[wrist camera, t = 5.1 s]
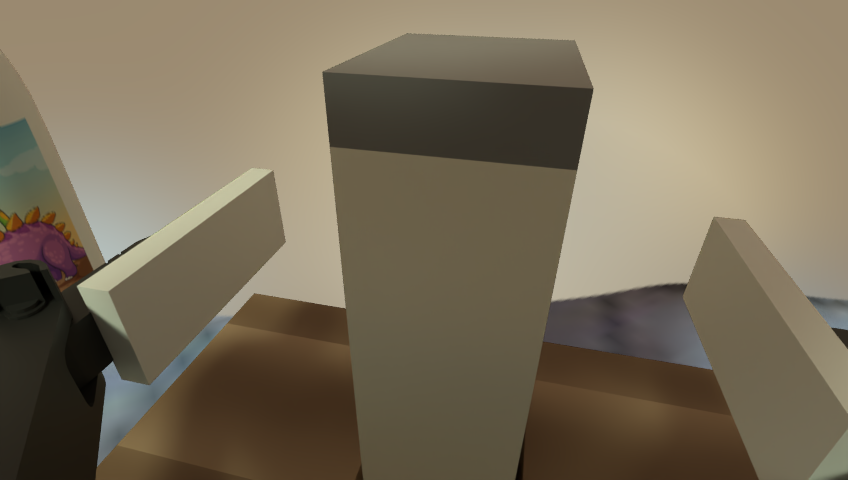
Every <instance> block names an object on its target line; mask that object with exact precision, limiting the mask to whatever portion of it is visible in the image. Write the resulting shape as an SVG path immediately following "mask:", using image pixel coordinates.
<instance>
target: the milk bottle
mask: <svg viewBox="0 0 848 480" xmlns="http://www.w3.org/2000/svg"><path fill="white" fill-rule="evenodd" d="M28 259H31V260H41V261H43V262H44V263H46V264H47V266H48V267H49V269H50V271H51V273H52V275H53V277H54V279H55V281H56V283H57V285H58V287H59V289H60V291H61V292H62V291H63V290H65V289H66V288H68V287H69V286H71V285H72V284H74V283H75V282H77V281H78V280H80V279H82V278H83V277H85V276H86V275H88V274H89V273H91V272H92V271H94V270H95V269H97V268H98V267H100V266H101V265H103V264H104V263H105V261H104V259H103V256H102V254H101V251H100V249H99V247H98V244H97V242H96V240H95V237H94V235H93V233H92V230H91V228H90V226H89V223H88V221H87V219H86V216H85V214H84V212H83V209H82V207H81V205H80V202H79V200H78V198H77V195H76V193H75V190H74V189H73V186H72V184H71V181H70V179H69V177H68V175H67V172H66V170H65V168H64V165H63V163H62V161H61V159H60V156H59V154H58V152H57V150H56V147H55V145H54V143H53V140H52V138H51V136H50V134H49V131H48V129H47V127H46V125H45V123H44V121H43V119H42V117H41V115H40V112H39V111H38V108H37V106H36V104H35V102H34V100H33V98H32V96H31V94H30V92H29V90H28V89H27V87H26V86H25V84H24V82H23V80H22V78H21V77H20V75H19V74H18V72H17V71H16V69H15V68H14V66H13V65H12V64H11V62H10V61H9V59H8V58H7V57H6V56H5V54H4V53H3V52H2V51H1V50H0V265H2V264H6V263H10V262H14V261H20V260H28Z"/></svg>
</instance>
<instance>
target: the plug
mask: <svg viewBox="0 0 848 480" xmlns="http://www.w3.org/2000/svg"><path fill="white" fill-rule="evenodd" d="M323 82H324V93H325V103H326V113H327V123H328V133H329V142H330V153H331V162H332V173H333V183H334V193H335V202H336V213H337V223H338V233H339V243H340V253H341V263H342V273H343V283H344V293H345V303H346V313H347V324H348V334H349V344H350V354H351V364H352V374H353V384H354V394H355V404H356V414H357V424H358V434H359V444H360V454H361V464H362V474H363V480H515V478H516V473H517V468H518V463H519V458H520V453H521V448H522V443H523V438H524V433H525V428H526V423H527V418H528V413H529V408H530V403H531V398H532V393H533V388H534V383H535V378H536V373H537V368H538V363H539V358H540V353H541V348H542V343H543V338H544V333H545V328H546V323H547V318H548V313H549V308H550V303H551V298H552V293H553V288H554V283H555V278H556V273H557V268H558V263H559V258H560V253H561V248H562V243H563V238H564V233H565V228H566V223H567V218H568V213H569V209H570V204H571V198H572V193H573V188H574V184H575V179H576V174H577V169H578V163H579V158H580V154H581V149H582V143H583V139H584V134H585V129H586V124H587V119H588V114H589V109H590V103H591V99H592V94H593V86H592V83H591V81H590V78H589V76H588V73H587V70H586V68H585V65H584V63H583V60H582V58H581V55H580V52H579V50H578V47H577V45H576V42H575V41H571V40H570V41H569V40H549V39H548V40H547V39H525V38H500V37H478V36H477V37H476V36H455V35H431V34H408V33H407V34H405V35H402V36H400V37H398V38H396V39H394V40H392V41H389V42H387V43H385V44H383V45H381V46H378V47H376V48H374V49H372V50H369V51H367V52H365V53H363V54H361V55H359V56H356V57H354V58H352V59H350V60H348V61H345V62H343V63H341V64H339V65H337V66H335V67H332V68H330V69H328V70H326V71H323Z"/></svg>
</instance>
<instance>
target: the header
mask: <svg viewBox="0 0 848 480" xmlns="http://www.w3.org/2000/svg"><path fill="white" fill-rule="evenodd" d="M95 480H363V474H362V464H361V454H360V444H359V434H358V424H357V414H356V404H355V394H354V384H353V374H352V364H351V354H350V344H349V334H348V324H347V313H346V309H345V308H339V307H333V306H327V305H321V304H315V303H309V302H303V301H297V300H290V299H284V298H279V297H273V296H266V295H261V294H254V295H253V296H252V297H251V298H250V299H249V300H248V301H247V302H246V303H245V304H244V306H243V307H242V308H241V309H240V310H239V311H238V312H237V313H236V314H235V315H234V316H233V318H232V319H231V320H230V321H229V322H228V323H227V324H226V325H225V326H224V328H223V329H222V330H221V331H220V332H219V333H218V334H217V335H216V336H215V337H214V339H213V340H212V341H211V342H210V343H209V344H208V345H207V346H206V347H205V349H204V350H203V351H202V352H201V353H200V354H199V355H198V356H197V357H196V358H195V360H194V361H193V362H192V363H191V364H190V365H189V366H188V367H187V368H186V370H185V371H184V372H183V373H182V374H181V375H180V376H179V377H178V378H177V379H176V381H175V382H174V383H173V384H172V385H171V386H170V387H169V388H168V389H167V391H166V392H165V393H164V394H163V395H162V396H161V397H160V398H159V399H158V400H157V402H156V403H155V404H154V405H153V406H152V407H151V408H150V409H149V410H148V412H147V413H146V414H145V415H144V416H143V417H142V418H141V419H140V420H139V421H138V423H137V424H136V425H135V426H134V427H133V428H132V429H131V430H130V431H129V433H128V434H127V435H126V436H125V437H124V438H123V439H122V440H121V441H120V442H119V444H118V445H117V446H116V447H115V448H114V449H113V450H112V451H111V452H110V454H109V455H108V456H107V457H106V458H105V459H104V460H103V461H102V462H101V463H100V465H99V466H98V467H97V469H96V478H95ZM515 480H759V479H758V476H757V474H756V471H755V469H754V467H753V464H752V462H751V459H750V457H749V455H748V452H747V450H746V448H745V445H744V443H743V440H742V438H741V436H740V433H739V431H738V428H737V426H736V424H735V421H734V419H733V416H732V414H731V412H730V409H729V407H728V404H727V402H726V400H725V397H724V395H723V393H722V390H721V388H720V385H719V383H718V381H717V378H716V376H715V373H714V371H713V370H710V369H704V368H698V367H692V366H686V365H680V364H674V363H668V362H662V361H656V360H650V359H644V358H638V357H632V356H626V355H620V354H614V353H608V352H602V351H596V350H590V349H584V348H578V347H572V346H566V345H560V344H554V343H548V342H543V343H542V348H541V353H540V358H539V363H538V368H537V373H536V378H535V383H534V388H533V393H532V398H531V403H530V408H529V413H528V418H527V423H526V428H525V433H524V438H523V443H522V448H521V453H520V458H519V463H518V468H517V473H516V478H515Z"/></svg>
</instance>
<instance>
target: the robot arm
mask: <svg viewBox="0 0 848 480" xmlns="http://www.w3.org/2000/svg"><path fill="white" fill-rule="evenodd" d="M285 242H286V241H285V236H284V230H283V224H282V219H281V213H280V207H279V201H278V195H277V189H276V184H275V178H274V172H273V170H268V169H258V168H251V169H249V170H248V171H246V172H245V173H244V174H242V175H241V176H239V177H238V178H236V179H235V180H233V181H232V182H231V183H229V184H227V185H226V186H224V187H223V188H221V189H220V190H218V191H217V192H216V193H214V194H212V195H211V196H210V197H208V198H207V199H205V200H204V201H202V202H201V203H199V204H198V205H196V206H195V207H193V208H192V209H190V210H189V211H187V212H186V213H184V214H183V215H181V216H180V217H178V218H177V219H175V220H174V221H172V222H171V223H170V224H168V225H167V226H165V227H164V228H162V229H161V230H159V231H158V232H156V233H155V234H153V235H152V236H149V237H147V238H144V239H142V240H140V241H138V242H136V243H134V244H133V245H131V246H130V247H128V248H127V249H125V250H124V251H122V252H121V254H120V255H119V254H118V255H116V256H115V257H113V258H112V259H110V260H109V261H108V263H104V264H103V265H101V266H100V267H98V268H97V269H95V270H94V271H92V272H91V273H89V274H88V275H86V276H85V277H83V278H82V279H80V280H78V281H77V282H75V283H74V284H72V285H71V286H69V287H68V288H66V289H65V290H63V291H62V292H61V291H60V289H59V287H58V285H57V283H56V281H55V279H54V277H53V275H52V273H51V271H50V269H49V267H48V266H47V264H46V263H44V262H43V261H41V260H31V259H28V260H20V261H14V262H10V263H6V264H2V265H0V480H95V478H96V469H97V460H98V451H99V442H100V432H101V423H102V414H103V405H104V396H105V387H106V382H105V378H104V376H103V374H102V372H101V371H102V370H104V369H105V368H106V367H107V366H108V365H109V364H110V363H111V362H112V361H113V362H114V364H115V366H116V369H117V371H118V373H119V375H120V377H121V379H123V380H128V381H132V382H137V383H141V384H146V385H150V384H151V383H152V382H153V381H154V380H155V379H156V378H157V377H158V376H159V375H160V374H161V372H162V371H163V370H164V369H165V368H166V367H167V366H168V365H169V364H170V363H171V362H172V361H173V360H174V359H175V358H176V357H177V356H178V355H179V354H180V353H181V352H182V350H183V349H184V348H185V347H186V346H187V345H188V344H189V343H190V342H191V341H192V340H193V339H194V338H195V337H196V336H197V335H198V334H199V333H200V332H201V331H202V329H203V328H204V327H205V326H206V325H207V324H208V323H209V322H210V321H211V320H212V319H213V318H214V317H215V316H216V315H217V314H218V313H219V312H220V311H221V310H222V308H223V307H224V306H225V305H226V304H227V303H228V302H229V301H230V300H231V299H232V298H233V297H234V296H235V295H236V294H237V293H238V292H239V290H241V289H242V287H243V286H244V285H245V284H246V283H247V282H248V281H249V280H250V279H251V278H252V277H253V276H254V275H255V274H256V273H257V272H258V271H259V270H260V269H261V268H262V266H263V265H264V264H265V263H266V262H267V261H268V260H269V259H270V258H271V257H272V256H273V255H274V254H275V253H276V252H277V251H278V250H279V249H280V247H281V246H283V244H284V243H285ZM683 299H684V302H685V304H686V306H687V309H688V311H689V314H690V316H691V318H692V321H693V323H694V326H695V328H696V330H697V333H698V335H699V338H700V340H701V342H702V345H703V347H704V349H705V352H706V354H707V357H708V359H709V361H710V364H711V366H712V369H713V371H714V373H715V376H716V378H717V381H718V383H719V385H720V388H721V390H722V393H723V395H724V397H725V400H726V402H727V404H728V407H729V409H730V412H731V414H732V416H733V419H734V421H735V424H736V426H737V428H738V431H739V433H740V436H741V438H742V440H743V443H744V445H745V448H746V450H747V452H748V455H749V457H750V459H751V462H752V464H753V467H754V469H755V471H756V474H757V476H758V479H759V480H848V330H844V329H837V328H831V327H830V326H829V325H828V324H827V322H826V321H825V320H824V319H823V317H822V316H821V315H820V314H819V312H818V311H817V310H816V309H815V307H814V306H813V305H812V304H811V302H810V301H809V300H808V299H807V297H806V296H805V295H804V294H803V292H802V291H801V290H800V289H799V287H798V286H797V285H796V284H795V282H794V281H793V280H792V278H791V277H790V276H789V275H788V274H787V272H786V271H785V270H784V268H783V267H782V266H781V265H780V263H779V262H778V261H777V260H776V258H775V257H774V256H773V255H772V253H771V252H770V251H769V250H768V248H767V247H766V246H765V245H764V244H763V242H762V241H761V240H760V238H759V237H758V236H757V235H756V233H755V232H754V231H753V229H752V228H751V227H750V226H749V224H748V223H747V222H746V221H745V220H739V219H730V218H719V217H714V218H713V220H712V223H711V225H710V228H709V231H708V233H707V236H706V238H705V241H704V243H703V246H702V248H701V251H700V254H699V256H698V259H697V261H696V264H695V267H694V269H693V272H692V274H691V277H690V279H689V282H688V284H687V287H686V290H685V292H684V295H683Z"/></svg>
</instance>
